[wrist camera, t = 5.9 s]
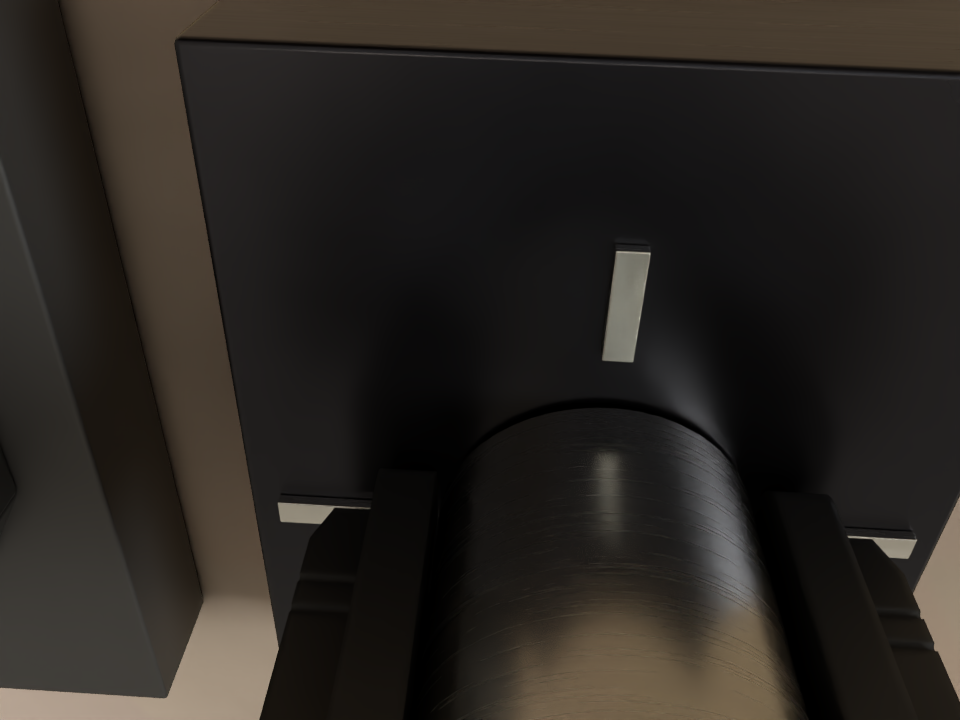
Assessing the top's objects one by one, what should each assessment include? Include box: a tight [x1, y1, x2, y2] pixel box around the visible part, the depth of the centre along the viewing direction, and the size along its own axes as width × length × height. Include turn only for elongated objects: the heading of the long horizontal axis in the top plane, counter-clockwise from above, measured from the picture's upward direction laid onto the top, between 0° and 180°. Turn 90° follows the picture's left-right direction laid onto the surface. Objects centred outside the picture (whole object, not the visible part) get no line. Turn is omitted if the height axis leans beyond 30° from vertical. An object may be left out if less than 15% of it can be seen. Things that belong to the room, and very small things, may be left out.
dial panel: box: [174, 0, 960, 647], centre depth 13 cm, size 12×9×3 cm
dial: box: [413, 407, 809, 720], centre depth 9 cm, size 4×4×5 cm
